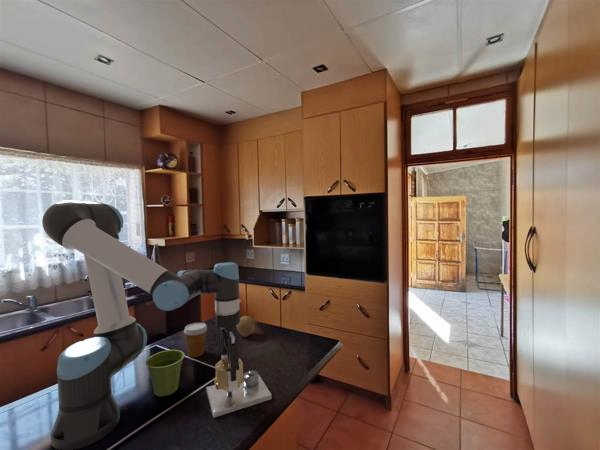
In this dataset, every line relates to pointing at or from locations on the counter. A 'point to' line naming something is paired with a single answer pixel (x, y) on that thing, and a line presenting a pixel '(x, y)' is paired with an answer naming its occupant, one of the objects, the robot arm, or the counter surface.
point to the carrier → (238, 395)
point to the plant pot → (165, 371)
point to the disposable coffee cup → (195, 338)
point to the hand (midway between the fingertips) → (229, 381)
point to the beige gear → (226, 374)
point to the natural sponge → (246, 326)
